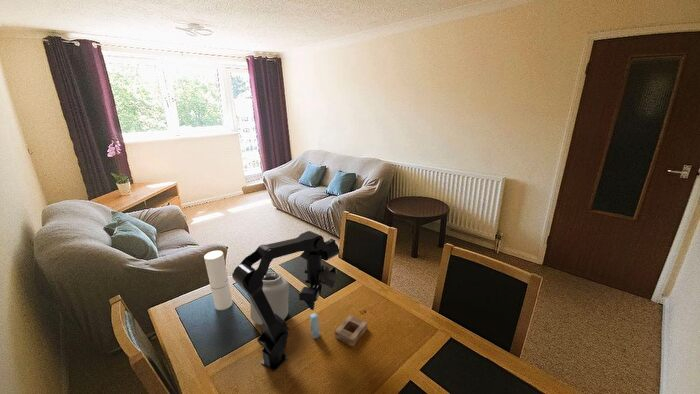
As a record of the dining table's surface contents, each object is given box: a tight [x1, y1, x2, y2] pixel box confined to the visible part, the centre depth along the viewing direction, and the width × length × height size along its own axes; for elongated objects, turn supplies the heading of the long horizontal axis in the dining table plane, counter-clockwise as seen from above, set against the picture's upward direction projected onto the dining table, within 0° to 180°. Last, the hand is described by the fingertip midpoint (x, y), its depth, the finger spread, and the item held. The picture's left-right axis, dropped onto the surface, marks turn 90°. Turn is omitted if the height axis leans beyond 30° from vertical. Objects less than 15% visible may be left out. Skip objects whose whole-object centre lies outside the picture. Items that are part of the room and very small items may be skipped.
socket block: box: [334, 314, 368, 347], centre depth 107 cm, size 10×8×3 cm
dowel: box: [309, 312, 321, 339], centre depth 105 cm, size 3×3×9 cm
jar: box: [249, 264, 289, 326], centre depth 114 cm, size 19×15×25 cm
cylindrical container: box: [203, 250, 233, 311], centre depth 121 cm, size 7×7×25 cm
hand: (316, 301), depth 107 cm, fingers open, 9 cm apart
